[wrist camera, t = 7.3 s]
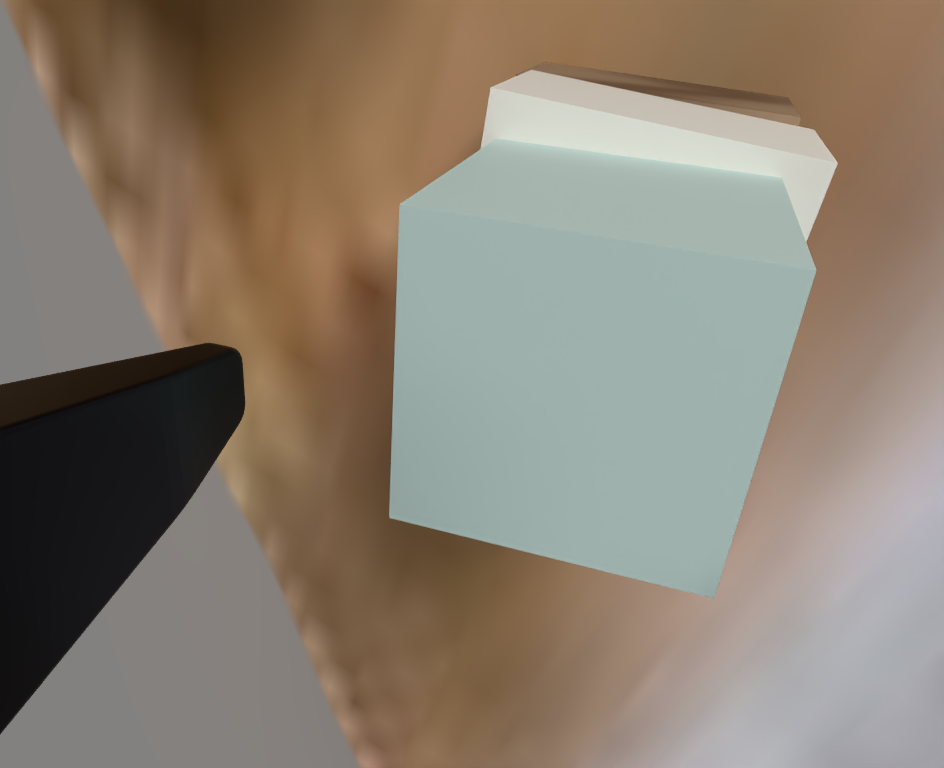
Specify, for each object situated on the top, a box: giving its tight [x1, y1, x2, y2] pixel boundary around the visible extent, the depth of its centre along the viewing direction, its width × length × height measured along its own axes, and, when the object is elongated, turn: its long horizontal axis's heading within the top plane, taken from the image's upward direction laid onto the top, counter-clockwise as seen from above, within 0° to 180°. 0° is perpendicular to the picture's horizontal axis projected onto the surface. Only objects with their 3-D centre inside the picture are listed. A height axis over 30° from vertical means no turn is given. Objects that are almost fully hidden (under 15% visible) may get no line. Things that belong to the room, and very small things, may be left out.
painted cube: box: [389, 139, 816, 598], centre depth 12 cm, size 5×5×5 cm
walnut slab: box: [516, 62, 801, 126], centre depth 19 cm, size 6×6×4 cm
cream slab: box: [481, 70, 838, 241], centre depth 16 cm, size 6×6×4 cm
